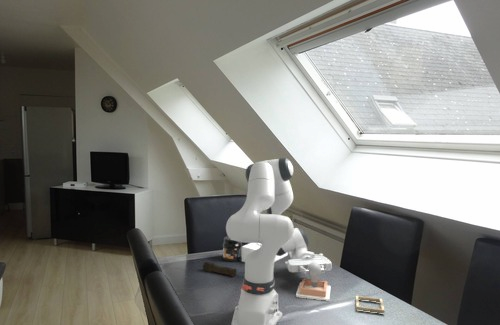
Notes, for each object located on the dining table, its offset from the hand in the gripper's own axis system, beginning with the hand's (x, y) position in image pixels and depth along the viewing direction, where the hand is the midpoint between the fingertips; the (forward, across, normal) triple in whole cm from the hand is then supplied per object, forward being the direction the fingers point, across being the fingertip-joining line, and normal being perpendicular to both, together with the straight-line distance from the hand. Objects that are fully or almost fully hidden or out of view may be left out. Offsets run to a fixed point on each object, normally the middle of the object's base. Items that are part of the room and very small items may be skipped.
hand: (315, 271), depth 154 cm
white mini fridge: (-47, -12, +10) cm, 49 cm away
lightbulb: (-1, 0, +8) cm, 8 cm away
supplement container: (-48, -31, +10) cm, 58 cm away
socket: (-1, 0, +10) cm, 10 cm away
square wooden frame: (+15, +18, +10) cm, 25 cm away
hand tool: (-28, -40, +10) cm, 50 cm away
